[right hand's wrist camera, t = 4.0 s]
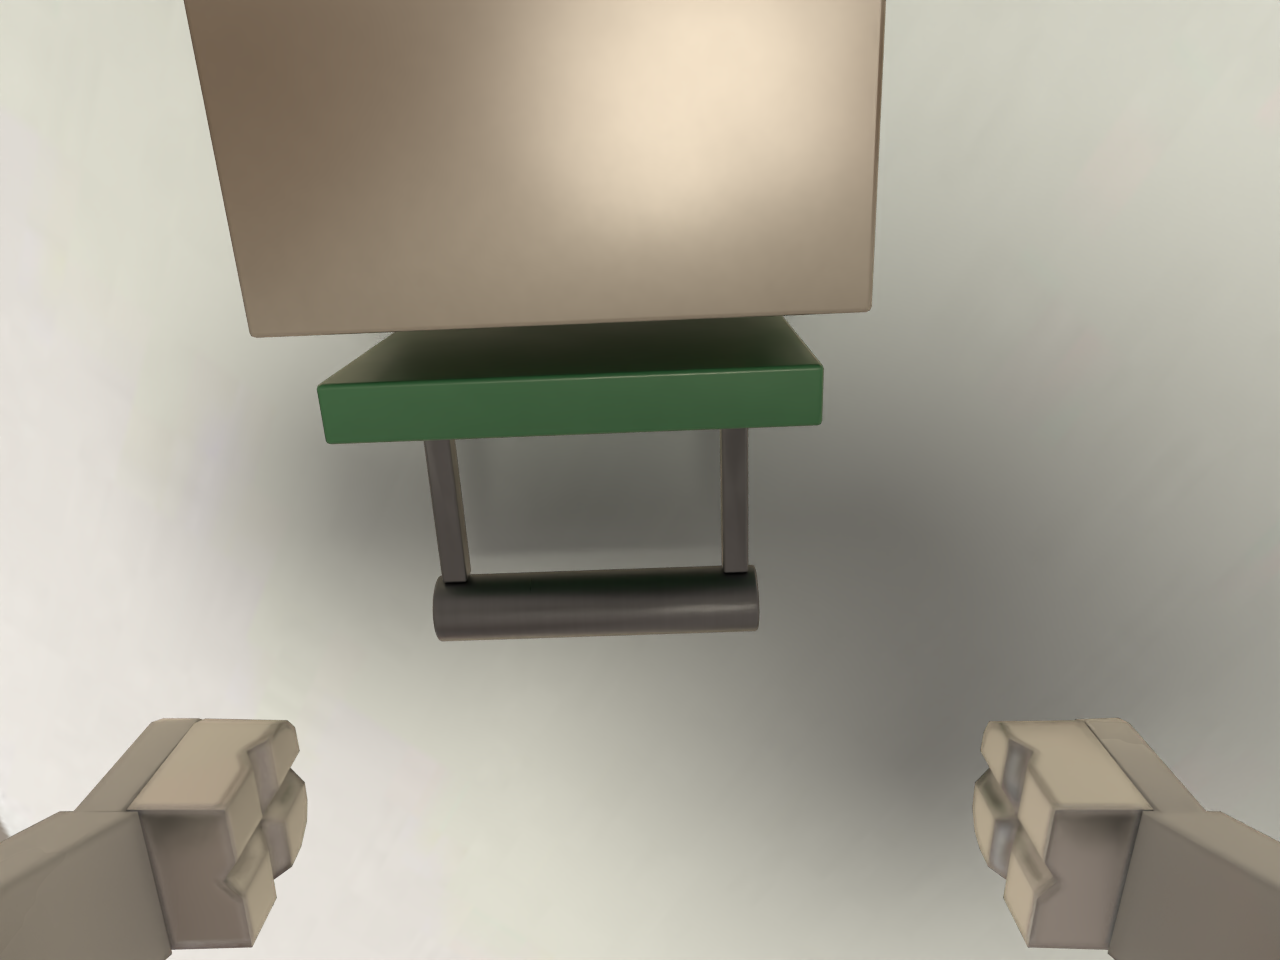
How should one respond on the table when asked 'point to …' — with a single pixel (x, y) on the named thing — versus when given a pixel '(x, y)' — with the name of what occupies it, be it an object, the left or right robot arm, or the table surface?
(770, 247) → the cabinet
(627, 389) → the drawer
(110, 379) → the table surface
